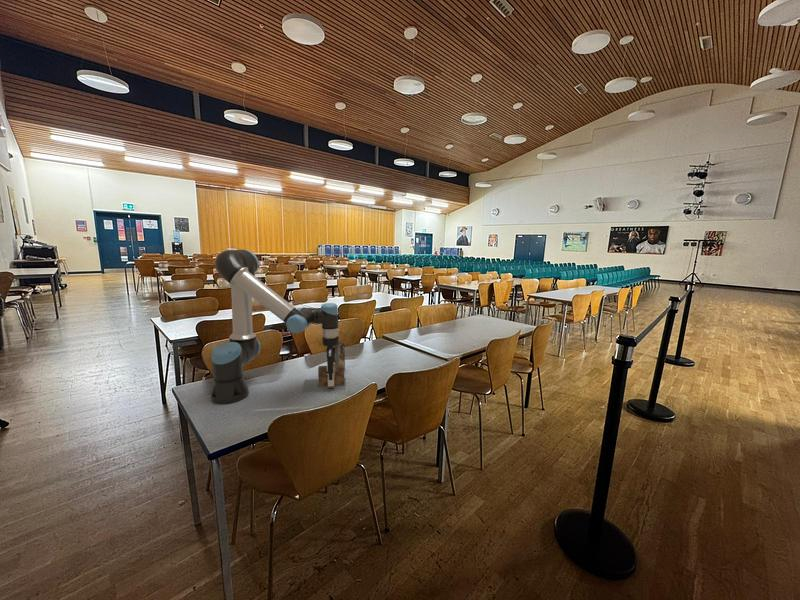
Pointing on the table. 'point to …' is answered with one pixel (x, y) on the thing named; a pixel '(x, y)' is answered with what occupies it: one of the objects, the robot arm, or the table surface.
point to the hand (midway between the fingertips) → (331, 381)
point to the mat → (314, 386)
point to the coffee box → (339, 355)
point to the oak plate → (334, 376)
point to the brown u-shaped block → (324, 377)
